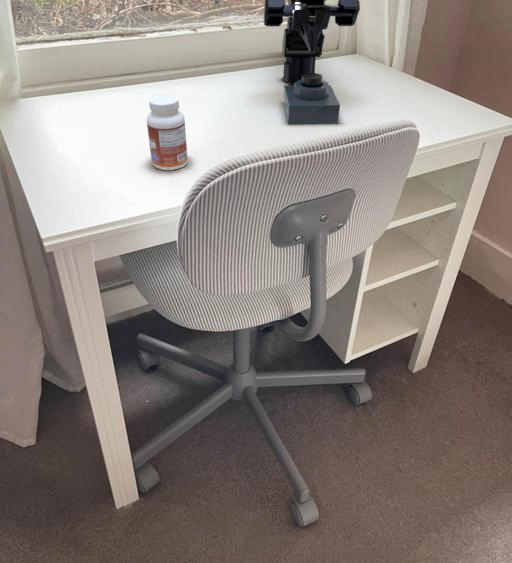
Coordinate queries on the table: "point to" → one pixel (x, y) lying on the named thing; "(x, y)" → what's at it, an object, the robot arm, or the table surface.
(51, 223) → the table surface
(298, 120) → the push button box
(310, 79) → the black round button
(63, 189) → the table surface
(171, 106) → the pill bottle
